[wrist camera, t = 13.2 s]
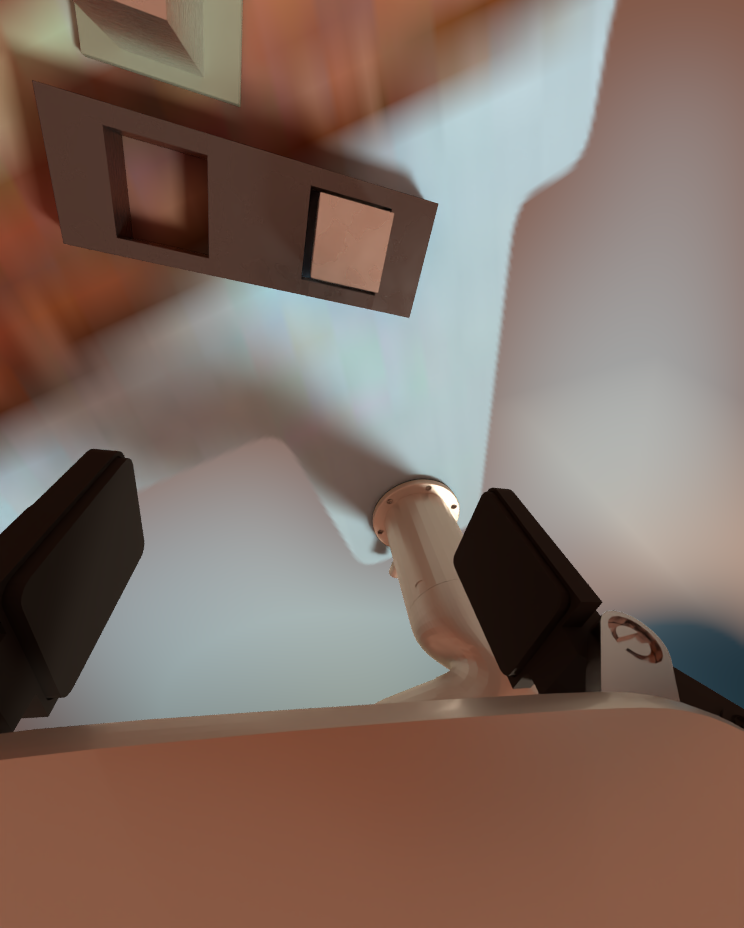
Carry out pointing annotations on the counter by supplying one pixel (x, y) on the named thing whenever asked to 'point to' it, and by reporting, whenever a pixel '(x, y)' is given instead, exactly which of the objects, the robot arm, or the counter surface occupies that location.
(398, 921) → the robot arm
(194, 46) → the pale pink rectangular block
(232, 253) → the board with square holes
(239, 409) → the counter surface
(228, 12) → the mat
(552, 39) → the counter surface
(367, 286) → the brown wooden block
